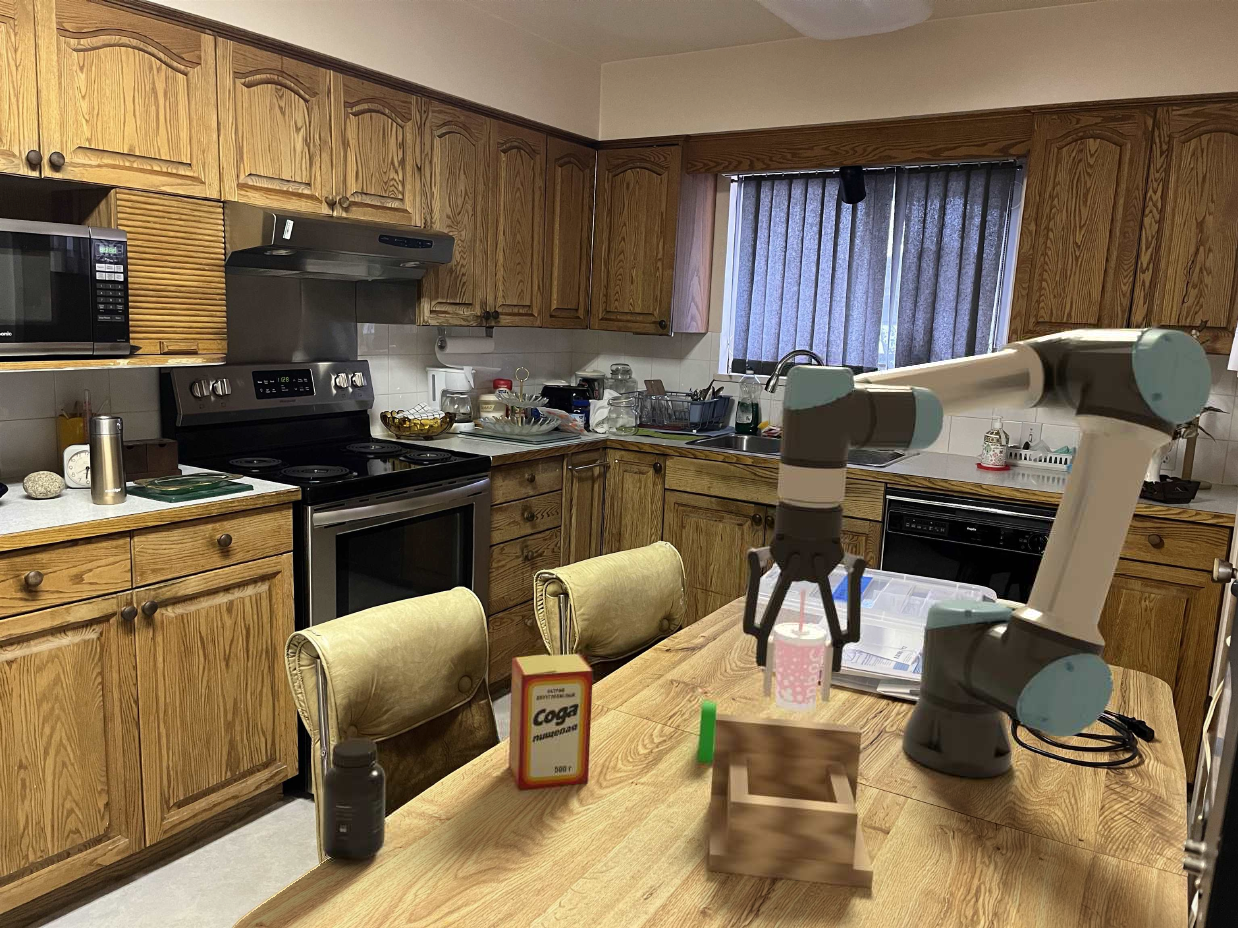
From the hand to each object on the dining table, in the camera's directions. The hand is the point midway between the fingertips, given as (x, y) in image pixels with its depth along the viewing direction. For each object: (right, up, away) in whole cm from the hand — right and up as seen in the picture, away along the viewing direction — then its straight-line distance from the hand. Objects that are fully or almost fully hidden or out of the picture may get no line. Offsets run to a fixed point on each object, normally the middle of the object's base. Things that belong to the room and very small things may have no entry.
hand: (795, 694), depth 108 cm
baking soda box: (-30, -15, +17) cm, 38 cm away
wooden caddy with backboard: (-1, -18, +2) cm, 18 cm away
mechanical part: (-6, -15, +28) cm, 32 cm away
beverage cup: (0, -1, 0) cm, 1 cm away
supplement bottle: (-51, -17, -3) cm, 54 cm away
